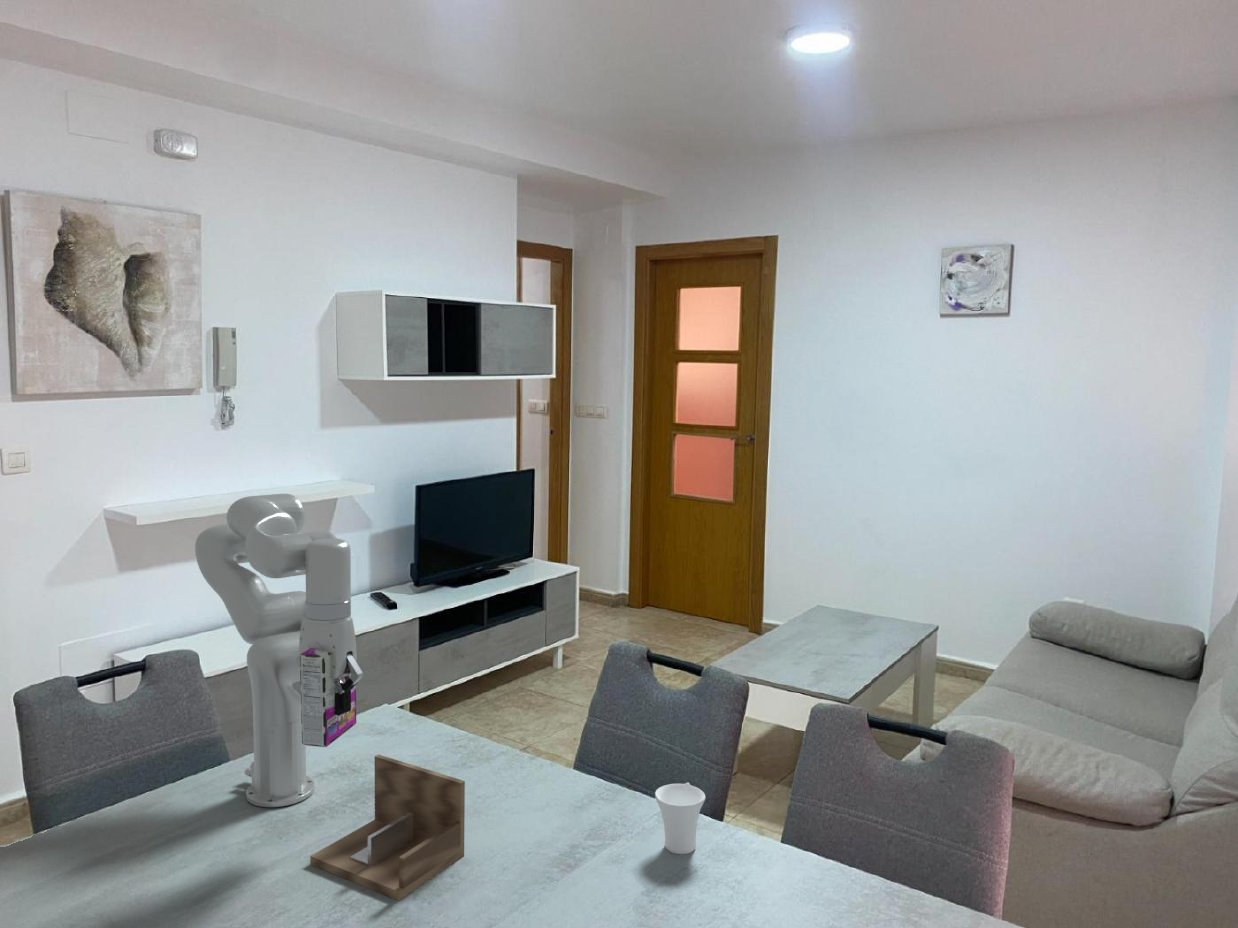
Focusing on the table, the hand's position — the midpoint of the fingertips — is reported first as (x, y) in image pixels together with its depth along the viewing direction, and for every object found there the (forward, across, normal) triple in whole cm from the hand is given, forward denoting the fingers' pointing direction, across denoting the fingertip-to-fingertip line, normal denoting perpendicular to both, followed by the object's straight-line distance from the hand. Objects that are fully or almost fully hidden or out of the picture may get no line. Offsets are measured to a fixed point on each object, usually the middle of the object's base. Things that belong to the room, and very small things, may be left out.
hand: (329, 707), depth 164 cm
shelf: (+23, +15, -1) cm, 28 cm away
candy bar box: (+5, 0, 0) cm, 5 cm away
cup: (+23, +55, +30) cm, 67 cm away
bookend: (+22, +14, -1) cm, 26 cm away
